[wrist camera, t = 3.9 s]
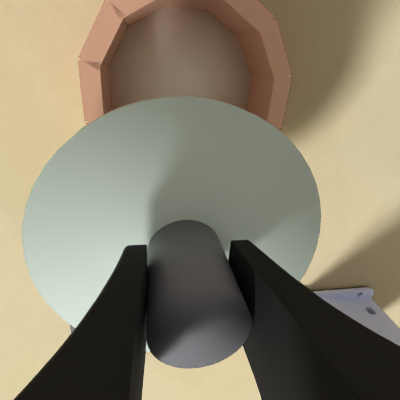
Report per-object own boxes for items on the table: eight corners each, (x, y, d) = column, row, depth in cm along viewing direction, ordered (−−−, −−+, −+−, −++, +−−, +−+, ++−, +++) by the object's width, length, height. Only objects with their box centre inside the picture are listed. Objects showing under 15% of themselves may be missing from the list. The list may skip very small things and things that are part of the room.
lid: (341, 104, 10) (468, 128, 6) (282, 325, 15) (333, 421, 11) (-2, 85, 8) (-148, 101, 4) (55, 348, 13) (14, 475, 9)
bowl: (271, 2, 14) (310, -16, 11) (246, 166, 18) (269, 191, 15) (88, -21, 13) (65, -51, 9) (104, 164, 17) (92, 192, 13)
